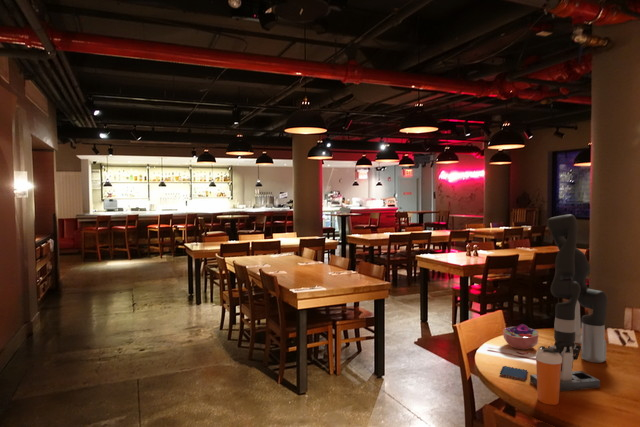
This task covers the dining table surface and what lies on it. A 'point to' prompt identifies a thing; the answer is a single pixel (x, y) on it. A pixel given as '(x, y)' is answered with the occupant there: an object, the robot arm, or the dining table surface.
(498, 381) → the dining table surface
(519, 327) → the cell model
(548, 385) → the shaker bottle
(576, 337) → the candlestick
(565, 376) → the peg
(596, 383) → the grey slotted frame
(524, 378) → the woven mat
